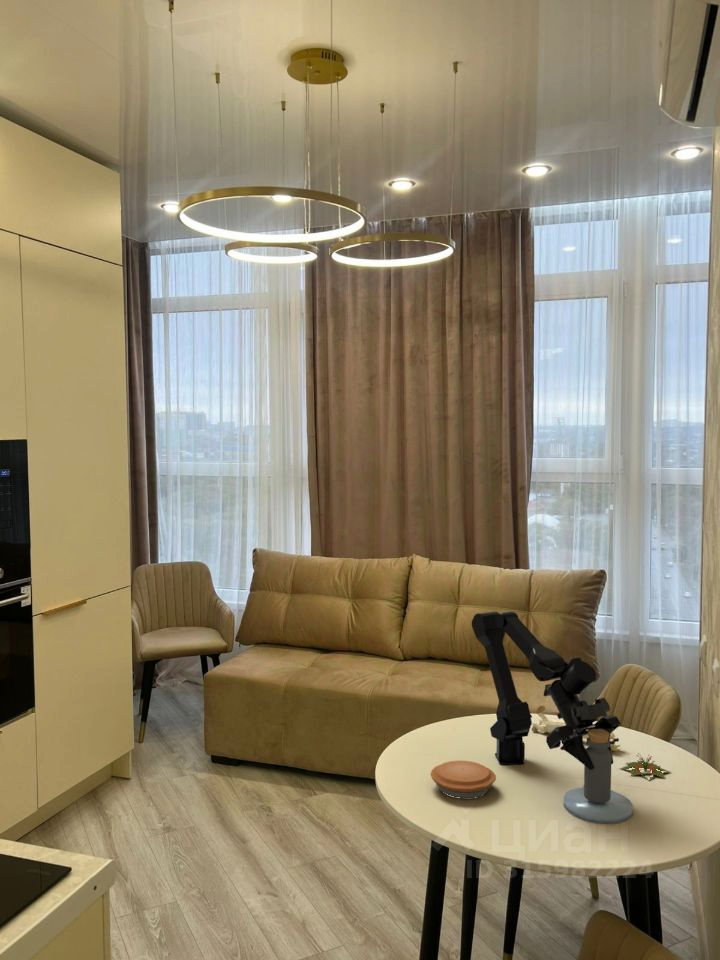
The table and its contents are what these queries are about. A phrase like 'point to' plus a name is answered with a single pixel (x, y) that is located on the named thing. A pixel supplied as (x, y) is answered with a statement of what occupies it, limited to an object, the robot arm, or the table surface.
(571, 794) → the dish
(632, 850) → the table surface
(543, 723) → the cat figure
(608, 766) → the bottle
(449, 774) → the pie
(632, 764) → the lily flower
